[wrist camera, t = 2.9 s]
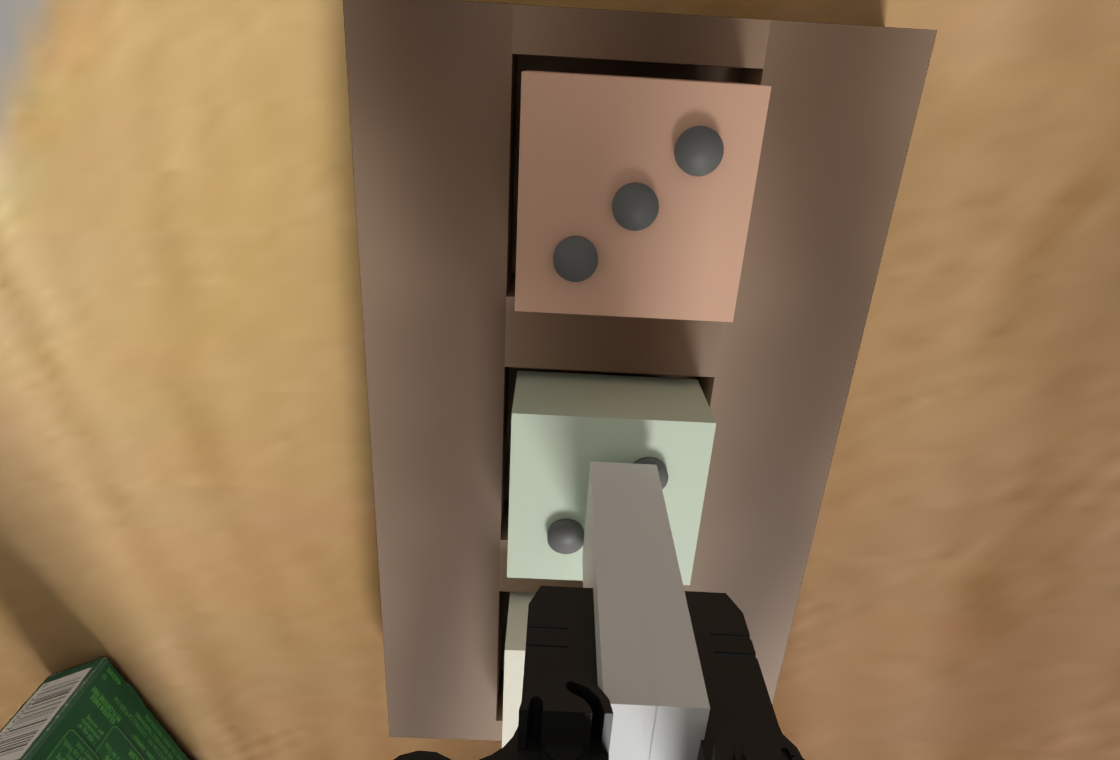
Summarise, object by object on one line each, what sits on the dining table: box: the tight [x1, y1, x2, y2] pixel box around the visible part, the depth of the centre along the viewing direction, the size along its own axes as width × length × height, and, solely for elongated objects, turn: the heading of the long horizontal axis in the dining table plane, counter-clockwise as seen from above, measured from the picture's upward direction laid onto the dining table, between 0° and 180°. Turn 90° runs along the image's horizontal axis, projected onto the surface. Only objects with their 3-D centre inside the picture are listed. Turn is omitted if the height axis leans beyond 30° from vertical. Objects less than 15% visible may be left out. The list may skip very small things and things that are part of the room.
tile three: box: [515, 70, 771, 322], centre depth 15 cm, size 5×5×3 cm
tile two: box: [507, 371, 716, 585], centre depth 18 cm, size 5×5×3 cm
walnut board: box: [343, 0, 937, 741], centre depth 20 cm, size 12×21×2 cm, turn 177°
